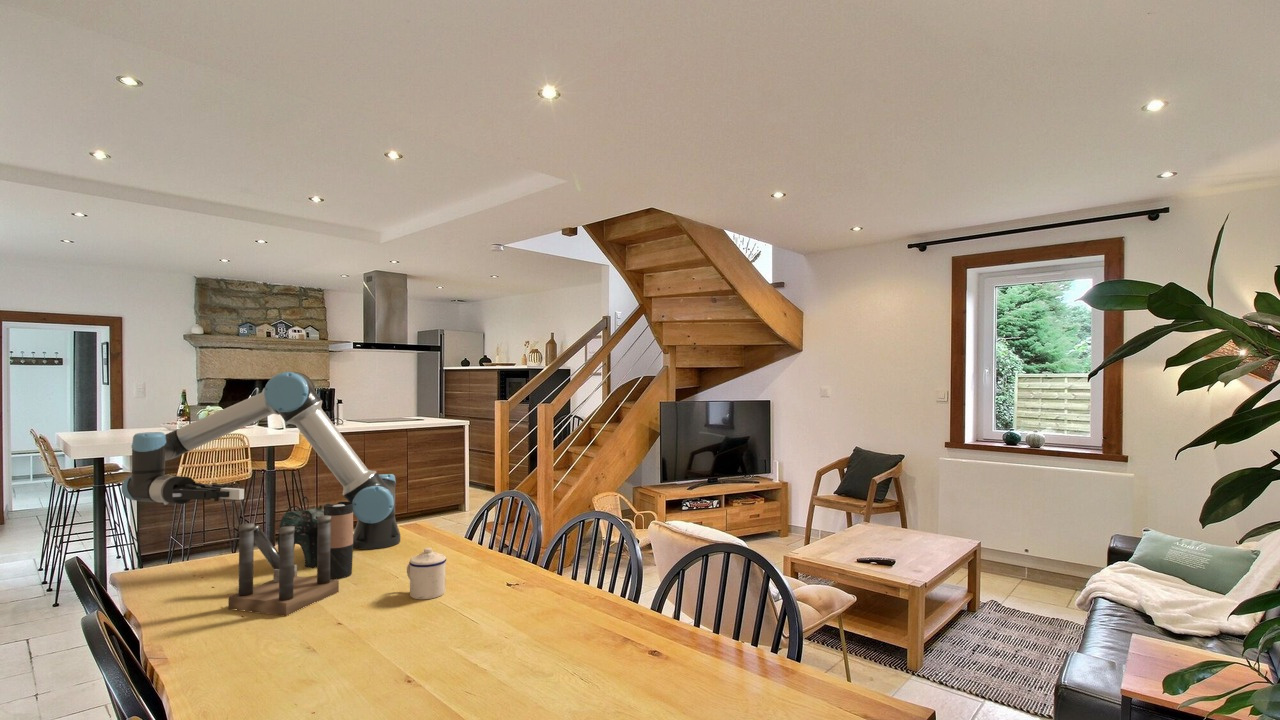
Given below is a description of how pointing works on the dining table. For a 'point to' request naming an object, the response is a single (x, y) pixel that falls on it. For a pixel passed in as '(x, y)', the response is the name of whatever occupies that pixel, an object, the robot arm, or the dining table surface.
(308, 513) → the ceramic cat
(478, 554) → the dining table surface
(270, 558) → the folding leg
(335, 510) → the travel mug
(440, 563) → the teacup with lid
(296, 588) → the stool
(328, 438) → the robot arm
